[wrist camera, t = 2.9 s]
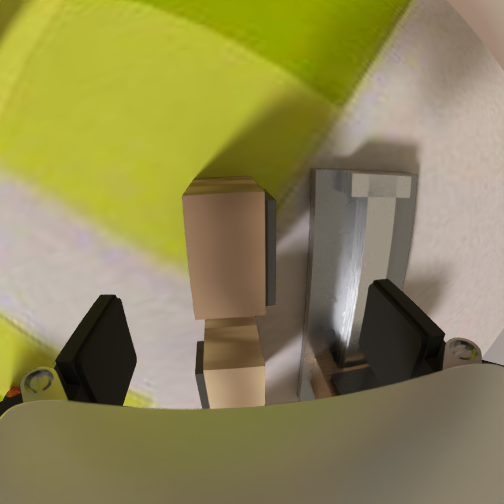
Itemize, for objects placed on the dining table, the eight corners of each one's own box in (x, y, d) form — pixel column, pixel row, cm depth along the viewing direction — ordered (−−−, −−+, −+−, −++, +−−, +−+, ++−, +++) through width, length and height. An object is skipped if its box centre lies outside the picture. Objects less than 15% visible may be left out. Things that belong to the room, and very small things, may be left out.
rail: (310, 168, 21) (360, 184, 13) (409, 172, 22) (477, 192, 14) (296, 394, 29) (315, 454, 22) (371, 380, 30) (400, 431, 22)
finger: (200, 269, 23) (195, 319, 16) (193, 178, 20) (182, 196, 14) (259, 266, 23) (275, 314, 17) (258, 175, 21) (276, 191, 14)
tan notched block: (207, 373, 27) (207, 430, 20) (198, 313, 24) (194, 370, 18) (254, 370, 27) (264, 426, 21) (253, 310, 25) (265, 365, 18)
